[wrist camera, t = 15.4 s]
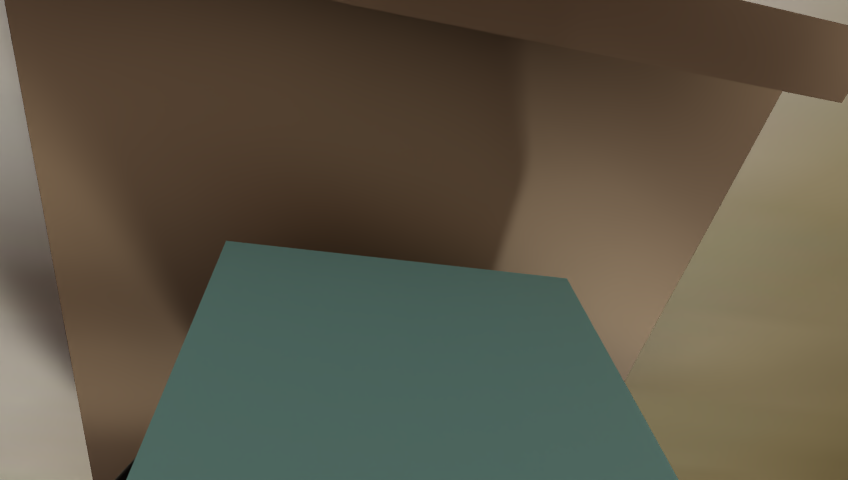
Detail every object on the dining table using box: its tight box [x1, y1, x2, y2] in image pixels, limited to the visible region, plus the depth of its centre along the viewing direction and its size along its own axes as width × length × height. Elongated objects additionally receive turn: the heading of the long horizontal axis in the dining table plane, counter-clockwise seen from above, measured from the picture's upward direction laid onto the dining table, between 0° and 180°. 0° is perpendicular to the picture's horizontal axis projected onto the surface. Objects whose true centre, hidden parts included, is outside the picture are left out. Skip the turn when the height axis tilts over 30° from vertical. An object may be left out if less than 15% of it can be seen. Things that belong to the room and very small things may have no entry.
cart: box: [4, 0, 848, 480], centre depth 11 cm, size 16×12×7 cm
